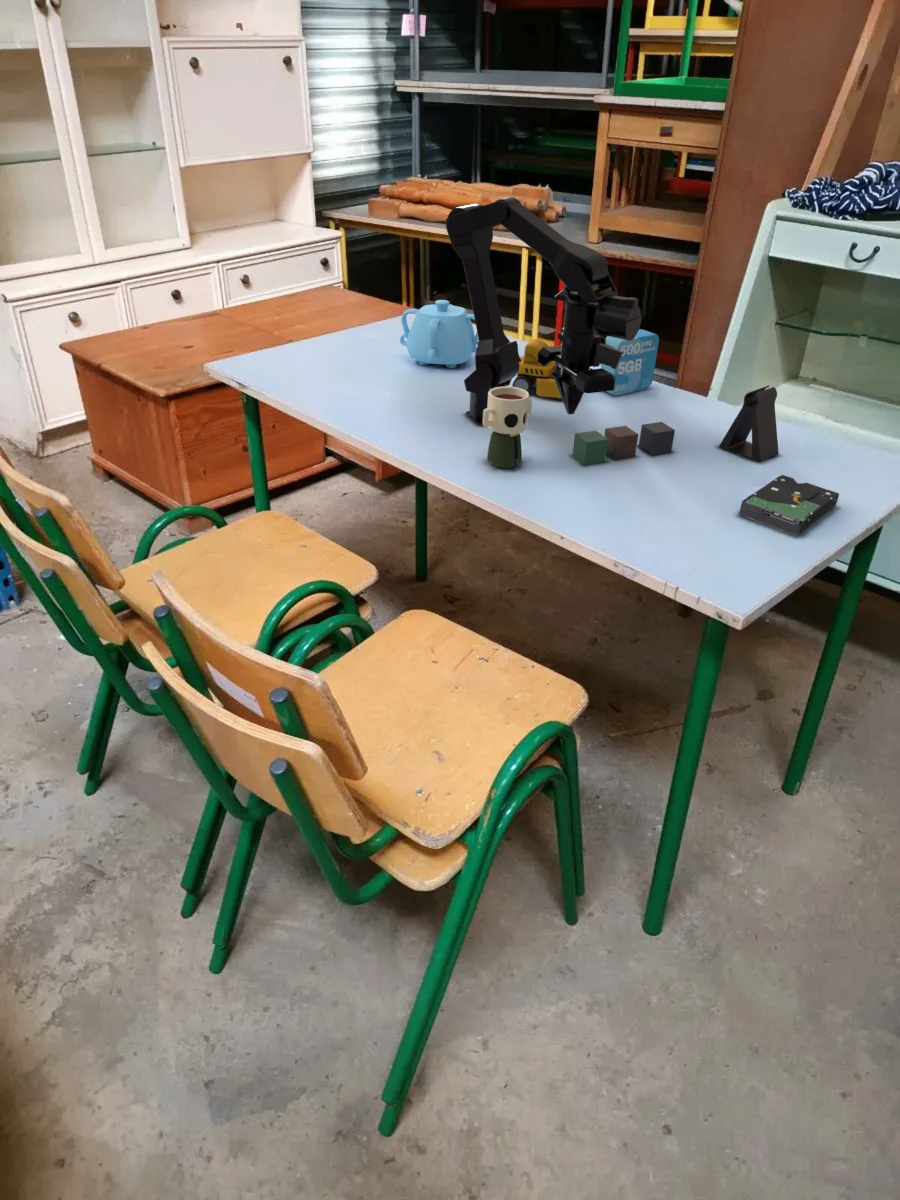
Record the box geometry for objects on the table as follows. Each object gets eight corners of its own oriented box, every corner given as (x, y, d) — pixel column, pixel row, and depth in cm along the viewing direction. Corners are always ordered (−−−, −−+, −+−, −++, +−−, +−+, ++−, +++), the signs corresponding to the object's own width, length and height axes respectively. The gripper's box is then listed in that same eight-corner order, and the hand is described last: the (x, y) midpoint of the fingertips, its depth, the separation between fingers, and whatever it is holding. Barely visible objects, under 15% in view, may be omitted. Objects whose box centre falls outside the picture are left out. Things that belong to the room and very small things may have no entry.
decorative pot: (458, 347, 214) (459, 290, 207) (487, 366, 202) (490, 306, 195) (396, 354, 208) (395, 295, 201) (423, 374, 196) (423, 313, 189)
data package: (611, 397, 187) (618, 341, 180) (597, 390, 190) (604, 335, 184) (652, 388, 193) (660, 333, 186) (637, 382, 196) (645, 328, 189)
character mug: (494, 477, 151) (498, 405, 144) (468, 463, 156) (471, 393, 149) (540, 462, 157) (546, 393, 150) (513, 449, 162) (518, 381, 155)
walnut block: (614, 459, 159) (617, 437, 157) (602, 450, 163) (605, 428, 160) (635, 456, 161) (638, 434, 158) (622, 447, 164) (625, 425, 162)
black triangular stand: (778, 455, 163) (793, 393, 156) (759, 463, 160) (774, 400, 153) (737, 440, 169) (750, 379, 162) (718, 447, 165) (731, 385, 159)
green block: (584, 465, 157) (586, 442, 154) (572, 455, 160) (574, 433, 158) (605, 462, 158) (608, 439, 156) (593, 452, 162) (595, 430, 159)
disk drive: (776, 488, 151) (737, 515, 142) (780, 473, 150) (741, 500, 140) (835, 508, 145) (799, 537, 136) (840, 492, 144) (803, 521, 134)
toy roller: (571, 403, 183) (577, 353, 177) (505, 394, 187) (508, 345, 181) (580, 390, 190) (585, 342, 184) (516, 381, 194) (519, 334, 188)
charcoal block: (651, 455, 161) (655, 432, 159) (638, 446, 165) (641, 424, 162) (671, 452, 163) (675, 430, 160) (658, 443, 166) (661, 421, 164)
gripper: (647, 340, 149) (634, 426, 158) (592, 312, 164) (583, 392, 172) (590, 345, 146) (580, 434, 154) (539, 316, 160) (533, 398, 169)
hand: (570, 413), depth 162 cm, fingers closed
